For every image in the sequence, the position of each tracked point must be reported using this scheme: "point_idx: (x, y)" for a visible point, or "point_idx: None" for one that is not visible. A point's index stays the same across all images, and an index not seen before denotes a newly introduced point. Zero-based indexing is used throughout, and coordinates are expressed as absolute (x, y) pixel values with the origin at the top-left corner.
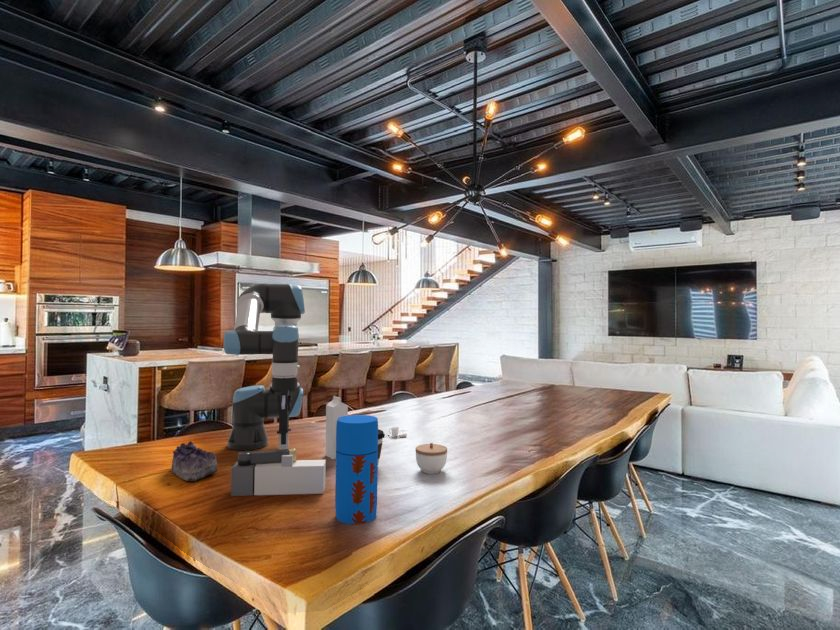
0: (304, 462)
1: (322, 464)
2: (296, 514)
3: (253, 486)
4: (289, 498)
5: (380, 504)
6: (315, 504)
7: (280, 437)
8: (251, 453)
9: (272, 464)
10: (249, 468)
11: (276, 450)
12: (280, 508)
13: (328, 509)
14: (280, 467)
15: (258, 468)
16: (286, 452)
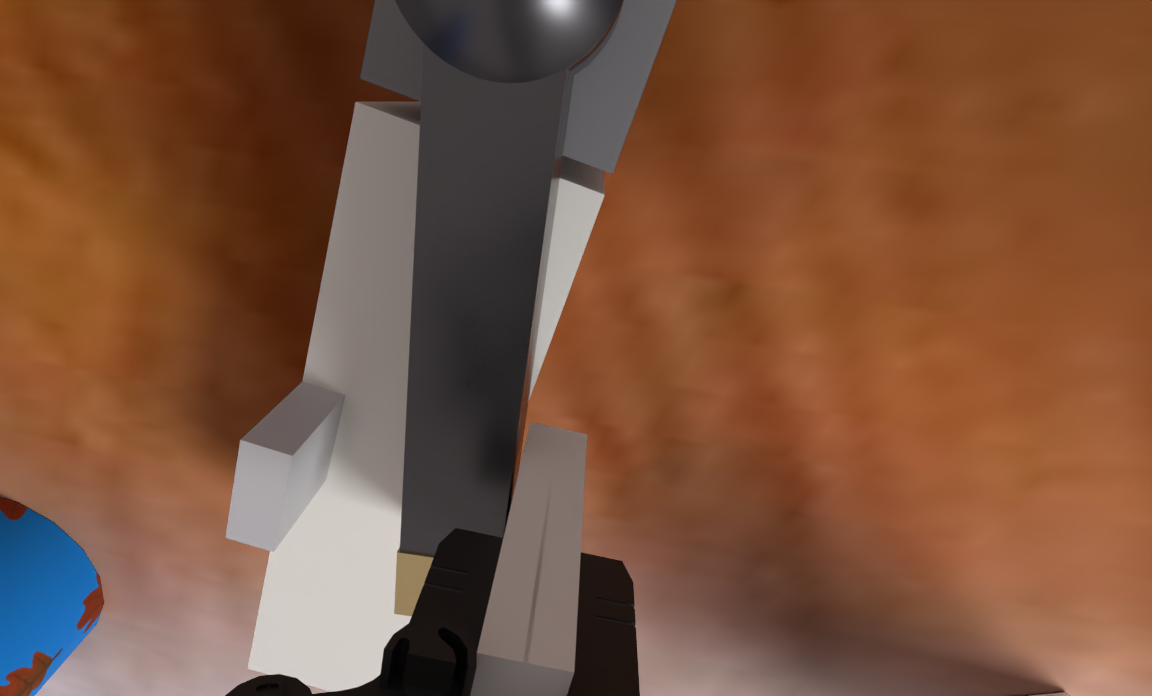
0: (385, 576)
1: (288, 670)
2: (35, 320)
3: None
4: (311, 331)
5: (129, 687)
6: (177, 445)
7: (484, 605)
8: (437, 59)
9: (409, 311)
10: (374, 34)
11: (484, 428)
12: (144, 248)
13: (93, 486)
14: (307, 369)
15: (350, 146)
16: (405, 512)
